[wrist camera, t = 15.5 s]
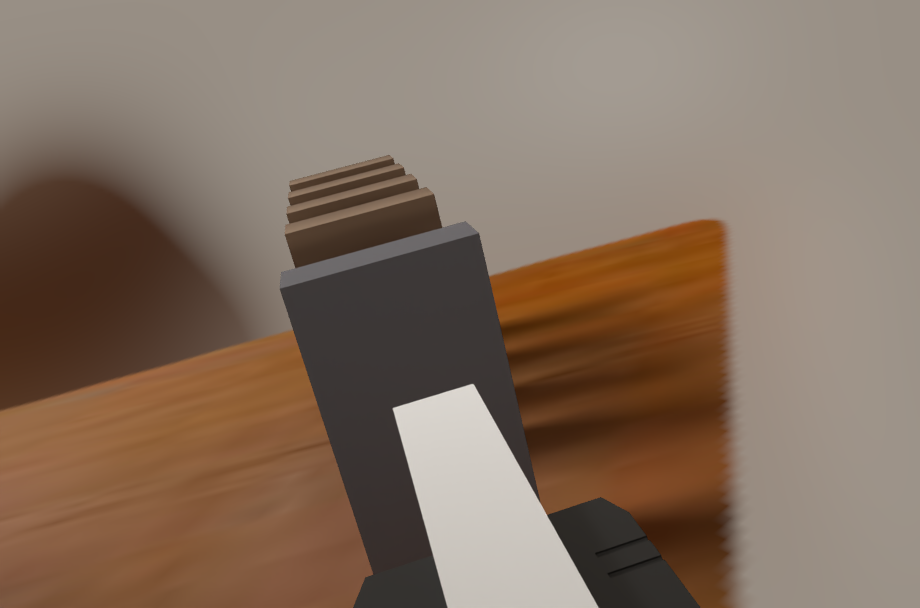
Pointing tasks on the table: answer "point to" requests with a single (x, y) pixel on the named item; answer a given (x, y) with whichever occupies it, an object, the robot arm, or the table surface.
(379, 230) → the walnut domino
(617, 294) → the table surface
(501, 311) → the table surface
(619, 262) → the table surface
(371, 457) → the black domino
